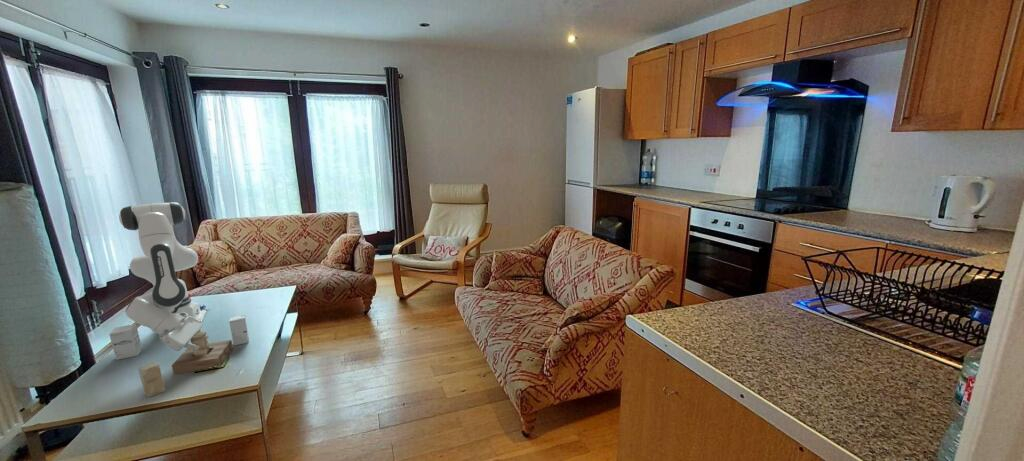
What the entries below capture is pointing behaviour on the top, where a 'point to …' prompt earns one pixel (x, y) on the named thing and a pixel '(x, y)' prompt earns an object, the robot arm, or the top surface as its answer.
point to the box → (151, 379)
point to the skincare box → (239, 330)
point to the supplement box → (125, 341)
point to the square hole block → (202, 358)
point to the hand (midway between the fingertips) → (203, 343)
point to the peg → (202, 341)
